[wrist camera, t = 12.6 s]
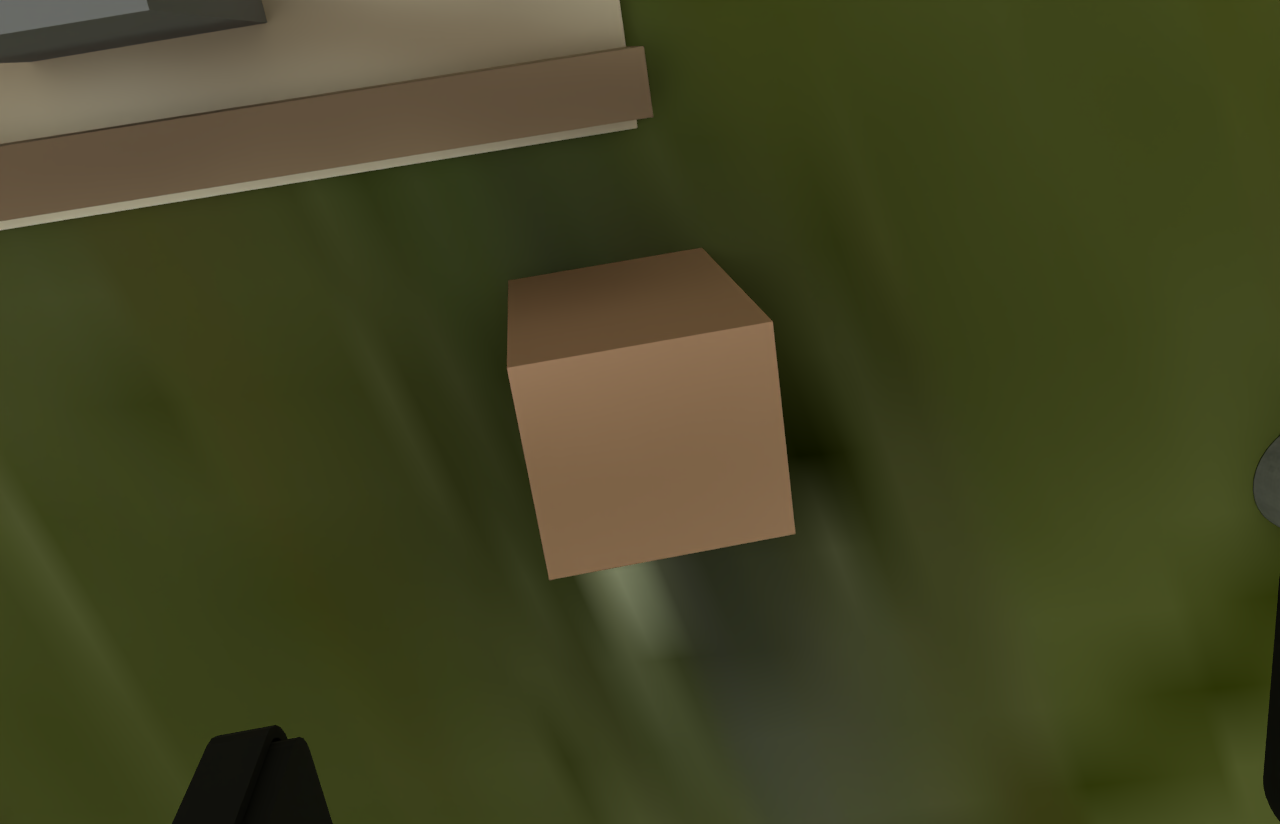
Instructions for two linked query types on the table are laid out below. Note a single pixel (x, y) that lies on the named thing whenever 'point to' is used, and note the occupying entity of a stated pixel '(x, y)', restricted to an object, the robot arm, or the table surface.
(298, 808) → the robot arm
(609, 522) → the terracotta plug block
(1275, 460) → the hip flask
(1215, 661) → the table surface
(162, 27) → the grey plug block
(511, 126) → the cream shelf rack
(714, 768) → the table surface
